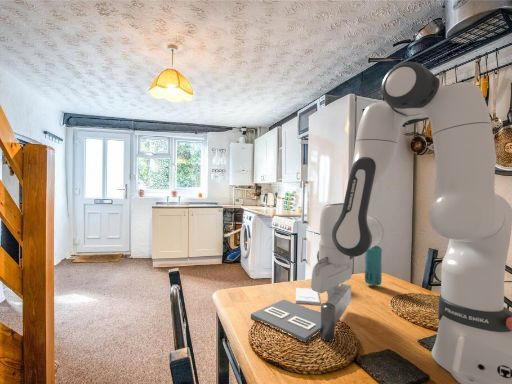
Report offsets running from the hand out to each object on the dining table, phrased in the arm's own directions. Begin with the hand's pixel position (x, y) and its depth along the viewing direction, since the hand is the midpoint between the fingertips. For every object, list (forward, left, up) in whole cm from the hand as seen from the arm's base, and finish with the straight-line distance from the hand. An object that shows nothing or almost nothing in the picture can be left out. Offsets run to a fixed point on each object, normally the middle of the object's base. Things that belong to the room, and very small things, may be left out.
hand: (332, 299), depth 86 cm
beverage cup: (+16, -24, -5) cm, 29 cm away
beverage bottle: (+1, -36, -5) cm, 37 cm away
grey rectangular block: (-4, +4, -4) cm, 7 cm away
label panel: (+6, +12, -5) cm, 14 cm away
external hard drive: (+13, -7, -6) cm, 16 cm away
